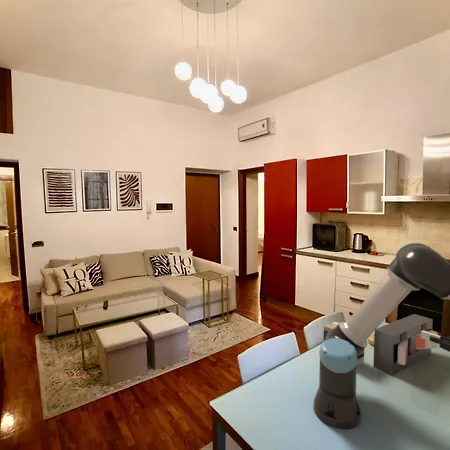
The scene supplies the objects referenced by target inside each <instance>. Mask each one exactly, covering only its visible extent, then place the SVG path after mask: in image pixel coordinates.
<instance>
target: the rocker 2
mask: <svg viewBox="0 0 450 450" xmlns="http://www.w3.org/2000/svg"><path fill="white" fill-rule="evenodd" d="M426 332H429V333H433V334H436V335H439V333H438V332H437V331H435V330H433V329H432V330H431V331H426ZM427 348H431V349H434V348H438V344H437V343H434V342H431V341H428V340H425V339H422V338H421V333H420V334H417V335H416V350H417V349H427Z"/></svg>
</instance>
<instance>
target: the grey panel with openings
mask: <svg viewBox="0 0 450 450" xmlns="http://www.w3.org/2000/svg"><path fill="white" fill-rule="evenodd" d="M433 320H434V319H433V318H429V317H426V316H423V315H419V314H415V313H413V314H411V315H408V316H406V317H403V318H401V319H398V320H397V319H396V320H395V321H393V322H390V323H387V324H385V325H381V326H378V327H377V328H376V329H375V330H374V332H373V334H374V346H373V363H372V365H373V366H372V367H373V368H375V369H376V370H378V371H381V372H383V374H387V375H388V376H391V377H393V376H396V375H397V374H398V373H400V372H402V371H404V370H405V369H407V368H410V367H411V366H412V365H414V364H416V363H418V362H419V361H421V360H423V359H425V358H427V357H428V356H430V355H431V354H432V348H427V349H417V350H416V335H417V334H420V333H421V331H431V330H433ZM407 339H408V350H407V360H406V364H405V365H402V364H398V346H399V343H400V342H402V341H405V340H407Z"/></svg>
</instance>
